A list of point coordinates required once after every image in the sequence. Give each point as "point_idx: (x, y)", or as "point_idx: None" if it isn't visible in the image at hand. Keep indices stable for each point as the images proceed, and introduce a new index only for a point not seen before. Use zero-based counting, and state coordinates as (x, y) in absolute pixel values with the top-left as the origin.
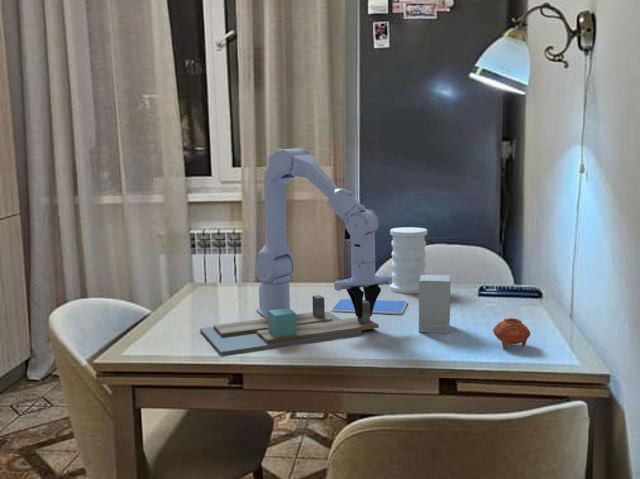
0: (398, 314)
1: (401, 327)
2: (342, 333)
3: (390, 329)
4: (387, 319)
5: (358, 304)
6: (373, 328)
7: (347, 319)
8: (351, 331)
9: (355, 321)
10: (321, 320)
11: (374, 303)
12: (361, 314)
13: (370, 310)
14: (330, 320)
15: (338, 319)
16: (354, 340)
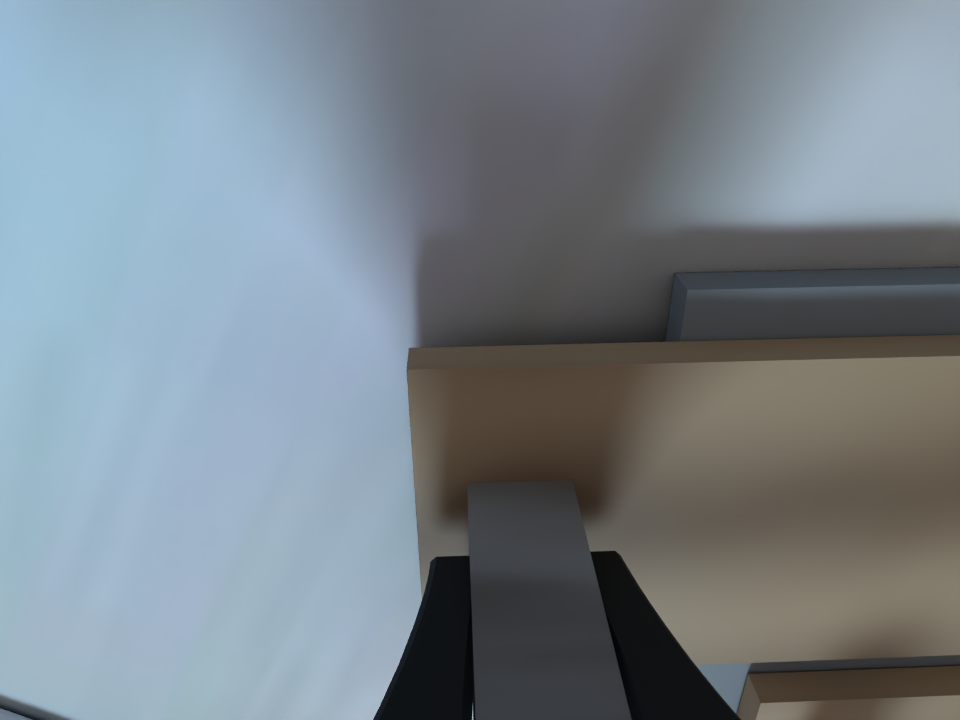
0: (2, 709)
1: (78, 355)
2: (934, 319)
3: (242, 337)
4: (157, 633)
5: (728, 710)
6: (485, 348)
7: None
8: (799, 340)
9: None
10: (877, 697)
11: (389, 707)
12: (606, 577)
13: (463, 611)
14: (776, 689)
15: None
16: (890, 104)
